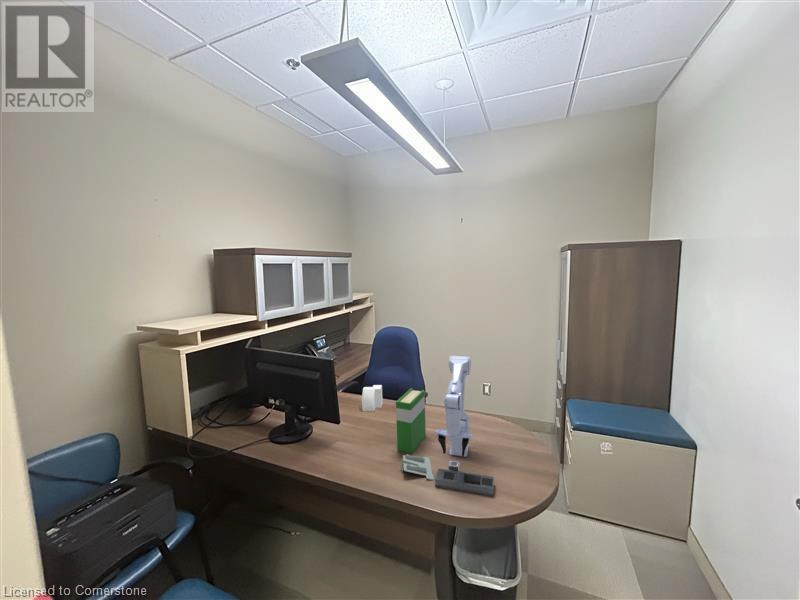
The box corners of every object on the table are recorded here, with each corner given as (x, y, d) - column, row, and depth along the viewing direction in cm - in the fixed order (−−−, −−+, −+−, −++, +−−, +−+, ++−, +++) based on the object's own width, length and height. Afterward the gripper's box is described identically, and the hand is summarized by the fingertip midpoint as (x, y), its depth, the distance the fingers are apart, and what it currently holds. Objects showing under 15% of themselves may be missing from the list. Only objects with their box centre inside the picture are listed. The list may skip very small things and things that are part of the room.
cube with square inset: (450, 469, 140) (449, 460, 140) (459, 470, 139) (459, 461, 139) (448, 474, 137) (448, 465, 136) (458, 476, 135) (458, 467, 135)
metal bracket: (403, 469, 133) (401, 448, 147) (399, 482, 133) (398, 460, 148) (437, 476, 133) (432, 455, 148) (433, 489, 134) (429, 466, 149)
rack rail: (438, 475, 136) (438, 468, 136) (493, 484, 130) (493, 476, 130) (435, 486, 130) (435, 479, 129) (493, 496, 123) (493, 488, 123)
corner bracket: (382, 403, 208) (381, 385, 207) (379, 411, 197) (379, 392, 196) (366, 403, 209) (365, 385, 208) (362, 411, 198) (361, 392, 197)
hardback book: (412, 432, 171) (411, 388, 169) (425, 435, 168) (424, 390, 165) (397, 450, 156) (395, 401, 153) (412, 453, 152) (410, 404, 150)
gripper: (434, 425, 134) (434, 456, 135) (470, 429, 129) (470, 461, 131) (437, 417, 140) (437, 447, 142) (472, 421, 136) (472, 452, 138)
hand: (453, 453), depth 137 cm, fingers open, 7 cm apart
